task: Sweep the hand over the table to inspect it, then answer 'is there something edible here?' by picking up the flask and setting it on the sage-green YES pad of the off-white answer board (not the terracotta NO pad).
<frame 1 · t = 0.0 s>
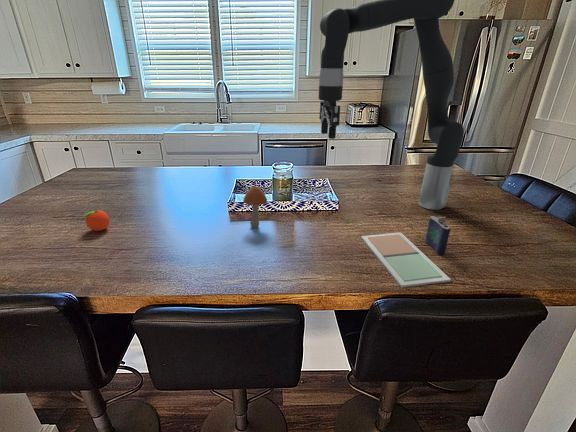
hand: (327, 135, 107), 29 cm above the kitchen island, tool pointing down, fingers open, 8 cm apart
flask: (434, 248, 98), on the kitchen island
clementine: (98, 230, 108), on the kitchen island
answer board: (400, 257, 93), on the kitchen island
mushroom: (256, 227, 110), on the kitchen island
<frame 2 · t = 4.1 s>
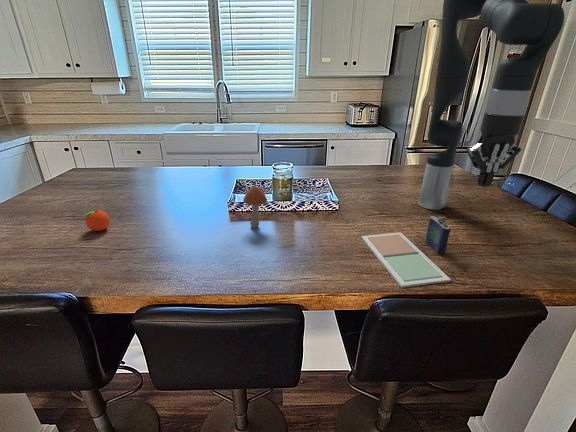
hand: (483, 185, 77), 25 cm above the kitchen island, tool pointing down, fingers closed
nothing on the kitchen island moved.
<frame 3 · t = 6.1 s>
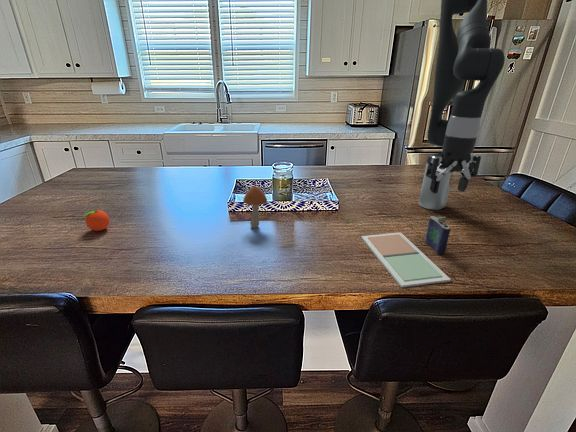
hand: (447, 191, 90), 19 cm above the kitchen island, tool pointing down, fingers open, 8 cm apart
nothing on the kitchen island moved.
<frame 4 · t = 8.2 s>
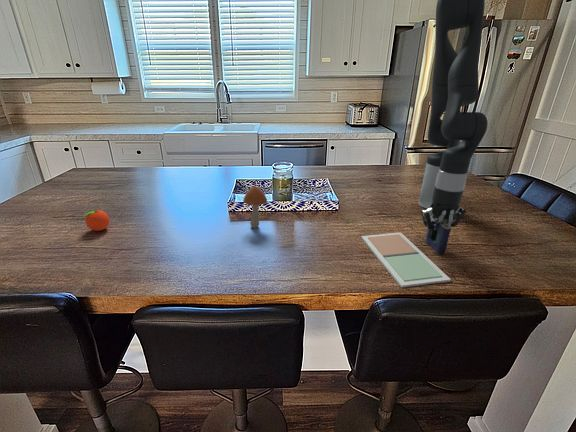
hand: (436, 238, 97), 3 cm above the kitchen island, tool pointing down, fingers closed on flask, 3 cm apart
flask: (434, 248, 98), on the kitchen island, touching gripper
everything else where it was.
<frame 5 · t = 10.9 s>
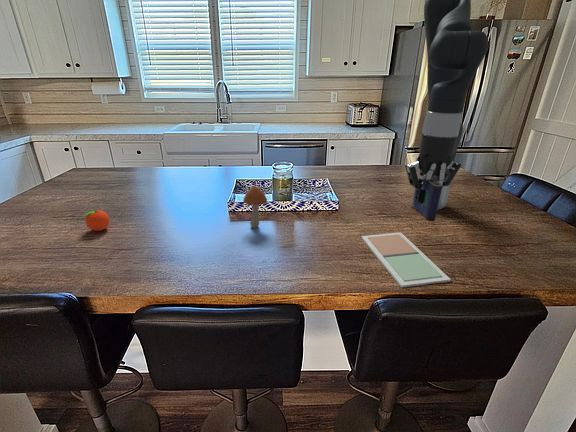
hand: (425, 201, 79), 20 cm above the kitchen island, tool pointing down, fingers closed on flask, 3 cm apart
flask: (422, 214, 81), point 17 cm above the kitchen island, touching gripper
everything else where it was.
when the fingers open (4 cm above the kitchen island, at t = 13.9 s): flask stays where it is, resting on answer board.
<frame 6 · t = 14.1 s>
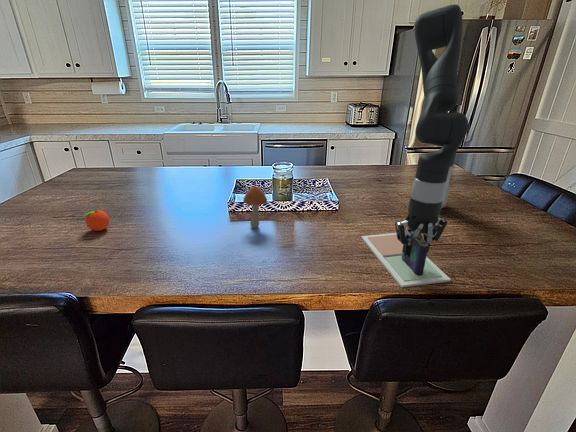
hand: (414, 254, 86), 5 cm above the kitchen island, tool pointing down, fingers open, 4 cm apart
flask: (412, 266, 88), point 1 cm above the kitchen island, touching answer board
everything else where it was.
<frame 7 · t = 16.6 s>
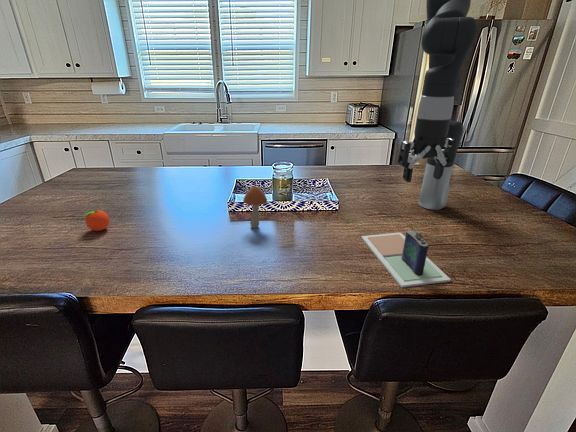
hand: (421, 179, 83), 24 cm above the kitchen island, tool pointing down, fingers open, 8 cm apart
nothing on the kitchen island moved.
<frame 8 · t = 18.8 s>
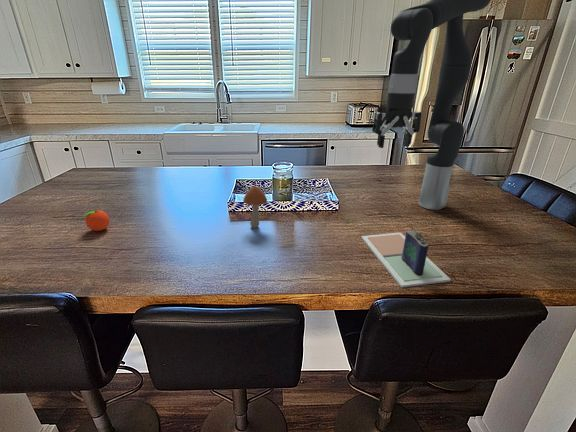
hand: (393, 146, 98), 28 cm above the kitchen island, tool pointing down, fingers open, 8 cm apart
nothing on the kitchen island moved.
at the end: flask inside the target area on the answer board (0.6 cm from its centre), point 0.7 cm above the answer board's base; the gripper is holding nothing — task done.
